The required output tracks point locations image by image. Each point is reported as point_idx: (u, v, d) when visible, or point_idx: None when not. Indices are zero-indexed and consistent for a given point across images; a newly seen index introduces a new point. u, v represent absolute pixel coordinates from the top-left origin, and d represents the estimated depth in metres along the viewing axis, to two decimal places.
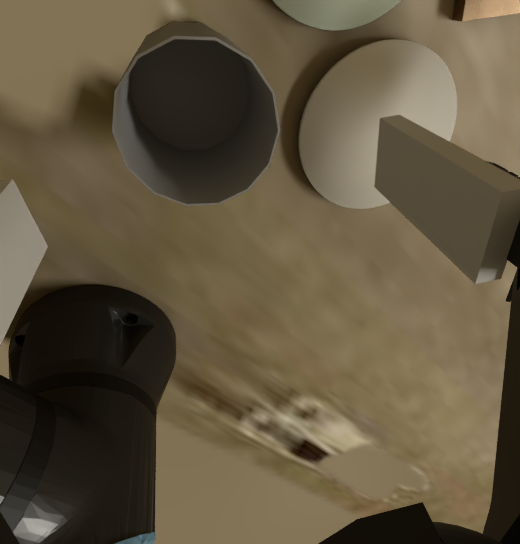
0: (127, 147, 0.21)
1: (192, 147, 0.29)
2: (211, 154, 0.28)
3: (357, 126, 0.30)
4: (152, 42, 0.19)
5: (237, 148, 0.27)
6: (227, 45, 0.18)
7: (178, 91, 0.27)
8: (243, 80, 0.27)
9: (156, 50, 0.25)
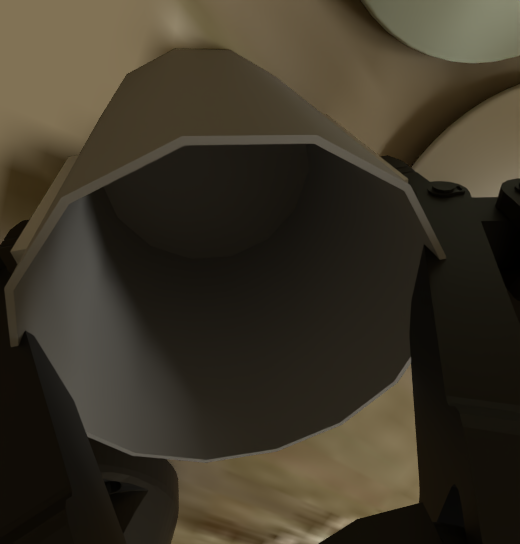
0: (71, 353, 0.09)
1: (208, 254, 0.17)
2: (242, 271, 0.16)
3: None
4: (123, 126, 0.07)
5: (292, 275, 0.15)
6: (346, 155, 0.06)
7: (185, 170, 0.15)
8: (301, 149, 0.15)
9: None
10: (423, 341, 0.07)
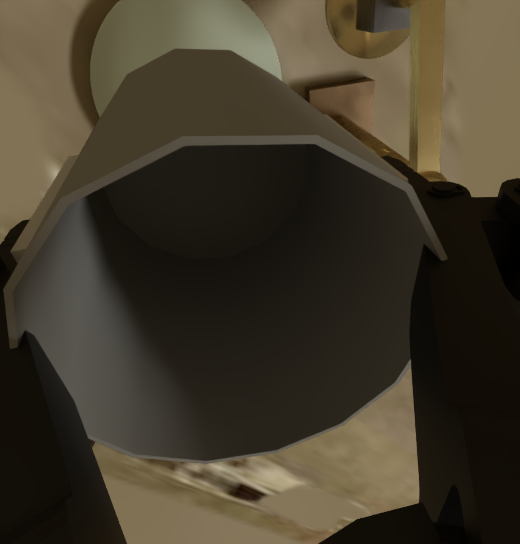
0: (71, 354, 0.09)
1: (208, 254, 0.17)
2: (242, 271, 0.16)
3: None
4: (123, 127, 0.07)
5: (293, 276, 0.15)
6: (347, 155, 0.06)
7: (185, 171, 0.15)
8: (301, 149, 0.15)
9: None
10: (423, 341, 0.07)
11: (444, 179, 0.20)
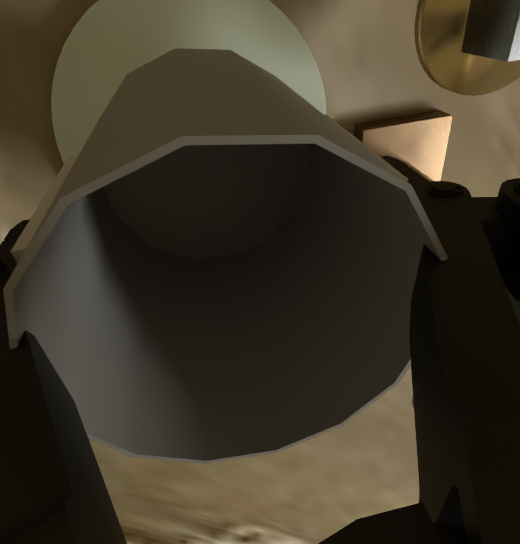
0: (71, 353, 0.09)
1: (208, 254, 0.17)
2: (242, 271, 0.16)
3: None
4: (123, 126, 0.07)
5: (293, 276, 0.15)
6: (347, 155, 0.06)
7: (185, 170, 0.15)
8: (301, 149, 0.15)
9: None
10: (423, 341, 0.07)
11: None
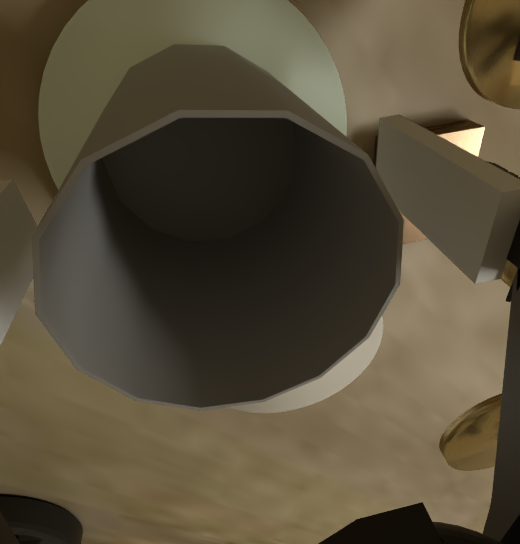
0: (82, 309, 0.10)
1: (204, 237, 0.19)
2: (236, 251, 0.18)
3: None
4: (129, 107, 0.08)
5: (281, 254, 0.16)
6: (313, 128, 0.07)
7: (183, 157, 0.16)
8: (290, 138, 0.17)
9: None
10: None
11: None
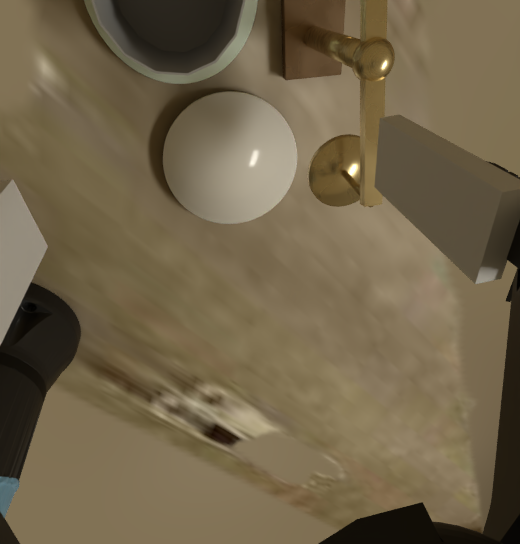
0: (101, 9, 0.22)
1: (171, 48, 0.30)
2: (189, 53, 0.30)
3: (211, 157, 0.37)
4: None
5: (212, 42, 0.28)
6: None
7: None
8: None
9: None
10: None
11: (390, 44, 0.22)
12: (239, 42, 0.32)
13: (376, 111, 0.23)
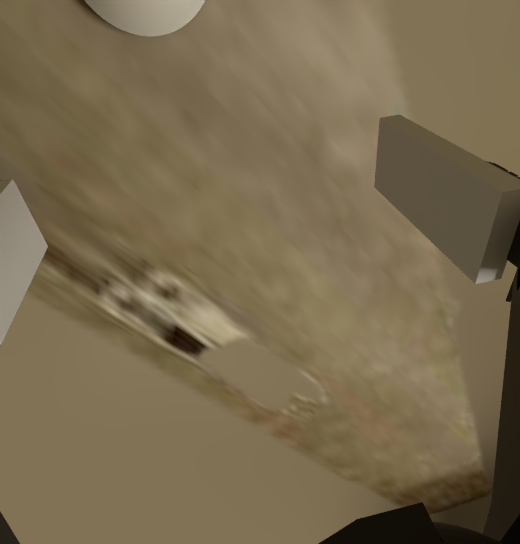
0: None
1: None
2: None
3: None
4: None
5: None
6: None
7: None
8: None
9: None
10: None
11: None
12: None
13: None
